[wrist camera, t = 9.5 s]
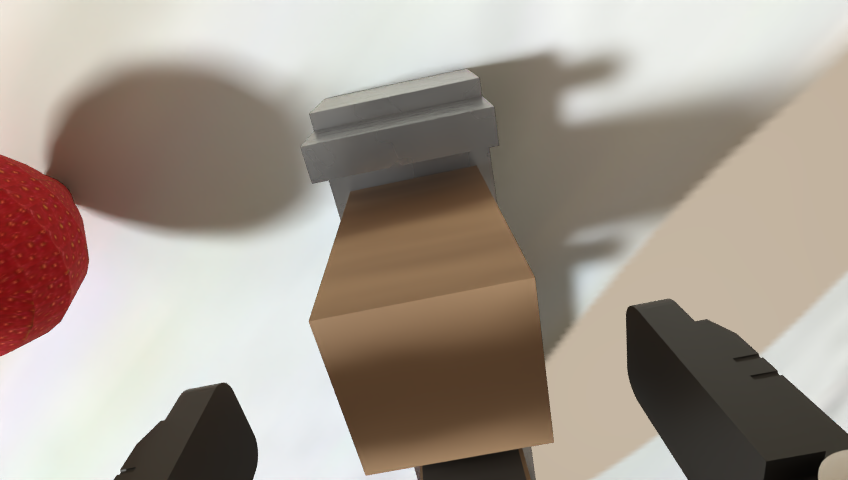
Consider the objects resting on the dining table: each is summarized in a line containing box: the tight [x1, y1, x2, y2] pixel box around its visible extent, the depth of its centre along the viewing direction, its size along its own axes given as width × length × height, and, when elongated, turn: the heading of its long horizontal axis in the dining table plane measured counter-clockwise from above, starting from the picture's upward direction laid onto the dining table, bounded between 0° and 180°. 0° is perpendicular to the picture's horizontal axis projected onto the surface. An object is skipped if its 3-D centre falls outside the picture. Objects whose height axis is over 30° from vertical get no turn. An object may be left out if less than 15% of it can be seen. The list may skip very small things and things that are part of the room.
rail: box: [301, 69, 536, 480], centre depth 18 cm, size 20×5×5 cm, turn 11°
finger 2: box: [309, 165, 554, 475], centre depth 12 cm, size 5×4×7 cm
